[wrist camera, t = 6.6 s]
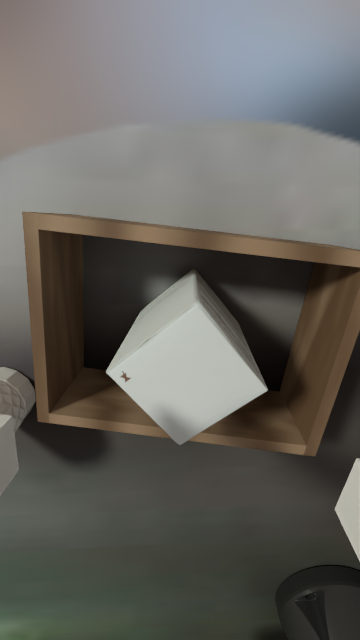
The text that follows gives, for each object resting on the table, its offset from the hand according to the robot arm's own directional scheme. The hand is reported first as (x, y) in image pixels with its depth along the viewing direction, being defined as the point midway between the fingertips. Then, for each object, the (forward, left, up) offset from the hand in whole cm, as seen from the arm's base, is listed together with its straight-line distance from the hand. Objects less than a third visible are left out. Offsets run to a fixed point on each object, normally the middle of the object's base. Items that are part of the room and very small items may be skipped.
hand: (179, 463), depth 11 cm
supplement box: (0, 0, -19) cm, 19 cm away
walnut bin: (0, 0, -19) cm, 19 cm away
